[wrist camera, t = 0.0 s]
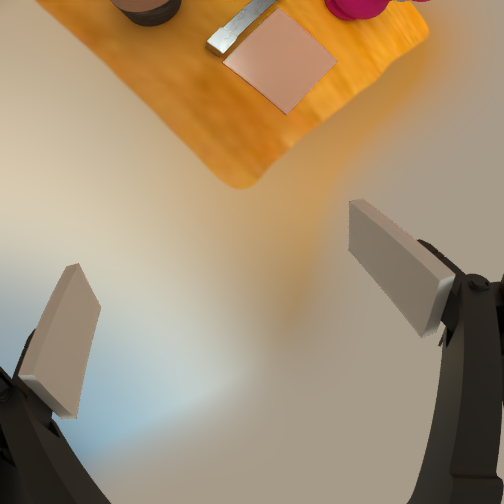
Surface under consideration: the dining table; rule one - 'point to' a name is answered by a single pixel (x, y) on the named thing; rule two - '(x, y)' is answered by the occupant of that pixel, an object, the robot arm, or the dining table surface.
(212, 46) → the handrail
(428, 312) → the robot arm
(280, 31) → the end tile
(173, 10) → the travel mug
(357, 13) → the pepper mill
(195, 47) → the dining table surface
